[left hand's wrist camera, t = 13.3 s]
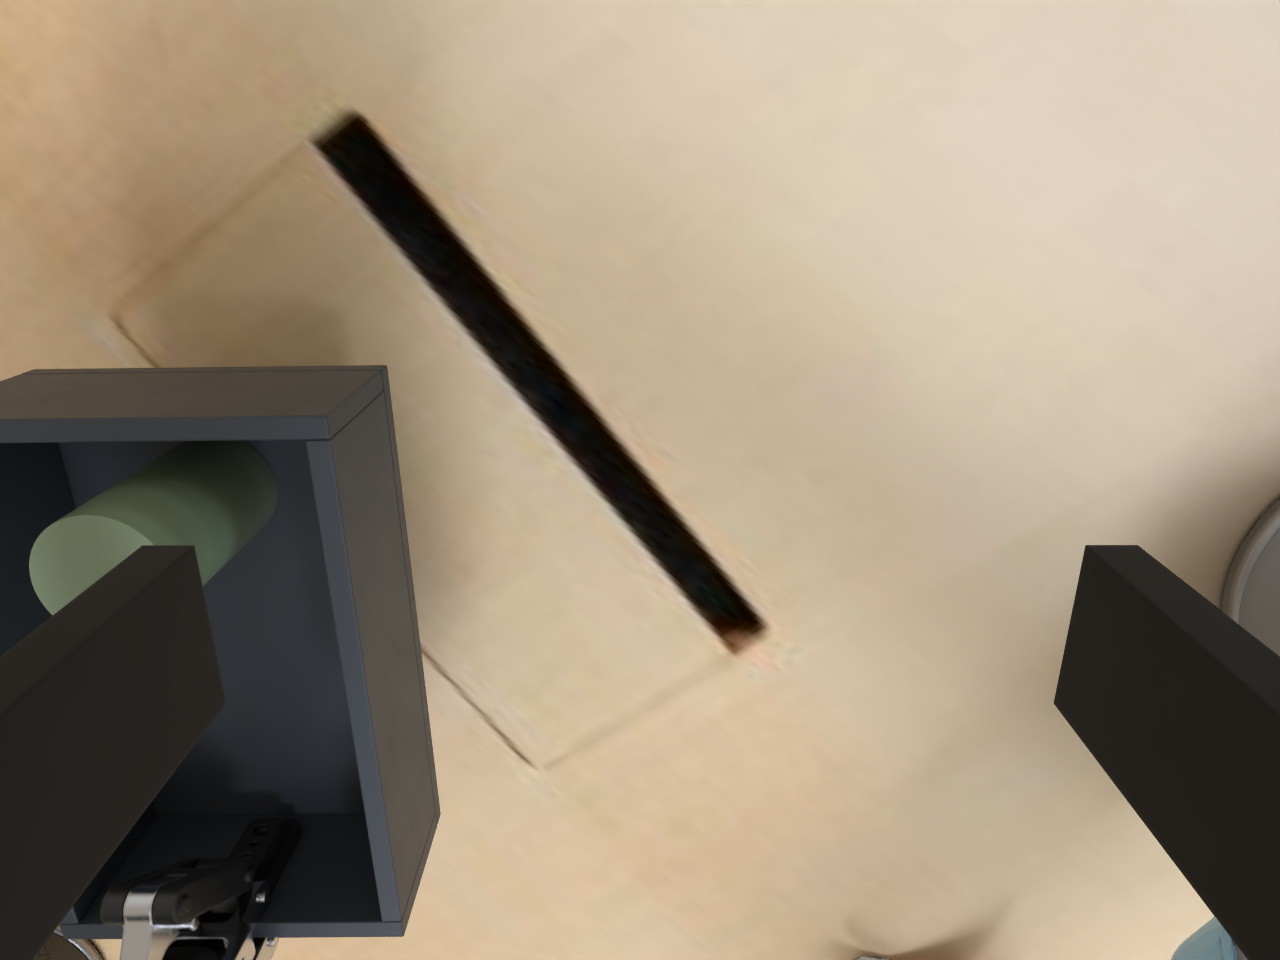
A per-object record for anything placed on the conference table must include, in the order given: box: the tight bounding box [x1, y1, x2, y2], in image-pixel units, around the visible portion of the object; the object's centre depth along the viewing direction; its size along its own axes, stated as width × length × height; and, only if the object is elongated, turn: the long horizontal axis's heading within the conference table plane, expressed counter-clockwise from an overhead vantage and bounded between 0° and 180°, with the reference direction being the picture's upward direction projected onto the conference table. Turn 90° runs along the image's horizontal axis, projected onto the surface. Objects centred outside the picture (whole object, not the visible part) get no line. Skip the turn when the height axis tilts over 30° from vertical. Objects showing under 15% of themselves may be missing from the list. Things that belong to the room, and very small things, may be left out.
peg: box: [29, 440, 278, 615], centre depth 30 cm, size 4×4×8 cm
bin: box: [0, 365, 440, 939], centre depth 34 cm, size 14×22×7 cm, turn 1°
